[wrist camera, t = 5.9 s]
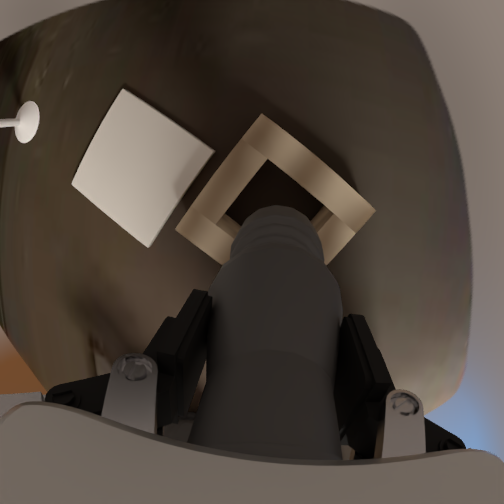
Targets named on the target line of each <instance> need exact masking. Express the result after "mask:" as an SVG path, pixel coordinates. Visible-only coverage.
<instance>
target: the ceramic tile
mask: <svg viewBox="0 0 504 504" xmlns="http://www.w3.org/2000/svg"><path fill="white" fill-rule="evenodd" d="M214 153H215V150H213V149H212V148H211V147H209V146H208V145H206V144H205V143H204V142H202V141H201V140H200V139H198V138H197V137H195V136H194V135H193V134H191V133H190V132H188V131H187V130H185V129H184V128H183V127H181V126H180V125H178V124H177V123H175V122H174V121H173V120H171V119H170V118H168V117H167V116H165V115H164V114H162V113H161V112H159V111H158V110H156V109H155V108H153V107H152V106H150V105H149V104H147V103H146V102H144V101H143V100H141V99H140V98H138V97H137V96H135V95H134V94H132V93H131V92H129V91H128V90H125V89H122V90H121V92H120V93H119V95H118V96H117V98H116V100H115V101H114V103H113V105H112V106H111V108H110V109H109V111H108V113H107V115H106V116H105V118H104V120H103V121H102V123H101V125H100V127H99V129H98V130H97V132H96V134H95V136H94V138H93V140H92V142H91V144H90V146H89V148H88V149H87V151H86V153H85V156H84V158H83V160H82V162H81V164H80V166H79V168H78V170H77V172H76V175H75V177H74V179H73V181H72V185H73V186H74V187H75V188H76V189H77V190H79V191H80V192H81V193H82V194H83V195H84V196H86V197H87V198H88V199H89V200H90V201H91V202H92V203H94V204H95V205H96V206H97V207H98V208H100V209H101V210H102V211H103V212H104V213H105V214H107V215H108V216H109V217H110V218H111V219H113V220H114V221H115V222H116V223H118V224H119V225H120V226H121V227H122V228H124V229H125V230H126V231H127V232H129V233H130V234H131V235H132V236H134V237H135V238H136V239H137V240H139V241H140V242H141V243H142V244H144V245H145V246H146V247H147V248H149V247H150V246H151V245H152V243H153V242H154V240H155V239H156V237H157V235H158V234H159V232H160V231H161V229H162V228H163V226H164V224H165V223H166V221H167V220H168V218H169V217H170V215H171V214H172V212H173V211H174V209H175V208H176V206H177V205H178V203H179V202H180V200H181V199H182V197H183V196H184V194H185V193H186V192H187V190H188V189H189V187H190V186H191V184H192V183H193V182H194V180H195V179H196V177H197V176H198V175H199V173H200V172H201V170H202V169H203V168H204V166H205V165H206V164H207V162H208V161H209V159H210V158H211V157H212V155H213V154H214Z"/></svg>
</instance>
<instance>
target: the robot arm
mask: <svg viewBox="0 0 504 504" xmlns="http://www.w3.org/2000/svg"><path fill="white" fill-rule="evenodd" d="M211 309H212V296H208V292H207V291H201V290H196V289H193V291H192V292H191V294H190V296H189V297H188V299H187V301H186V302H185V304H184V306H183V307H182V309H181V311H180V312H179V314H178V315H177V317H176V318H174V317H169V316H168V317H167V318H166V319H165V320H164V322H163V323H162V325H161V326H160V328H159V329H158V331H157V333H156V334H155V336H154V337H153V339H152V340H151V342H150V343H149V345H148V347H147V348H146V350H145V351H144V353H143V354H140V353H129V354H125V355H123V356H121V357H119V358H118V359H117V360H116V361H115V362H114V364H113V366H112V370H111V373H108V374H104V375H100V376H96V377H92V378H87V379H83V380H78V381H74V382H69V383H64V384H60V385H57V386H54V387H53V388H51V389H50V390H49V391H48V392H47V394H46V395H42V393H41V392H33V393H20V394H3V395H0V504H504V463H503V462H502V460H501V459H500V458H499V457H498V456H497V455H495V454H493V453H490V452H487V451H483V450H476V449H471V448H469V449H466V447H465V445H464V443H463V441H462V440H461V439H460V438H458V437H457V436H455V435H453V434H452V433H450V432H448V431H447V430H445V429H443V428H442V427H440V426H438V425H436V424H435V423H433V422H431V421H430V420H428V419H426V418H425V417H424V411H423V405H422V402H421V400H420V399H419V398H418V397H417V396H416V395H415V394H413V393H412V392H410V391H407V390H402V389H398V390H396V389H395V387H394V384H393V382H392V379H391V377H390V374H389V372H388V369H387V367H386V364H385V362H384V359H383V357H382V354H381V352H380V350H379V349H378V348H377V346H376V343H375V341H374V338H373V336H372V334H371V331H370V329H369V327H368V325H367V322H366V320H365V318H364V316H363V315H355V314H349V315H348V317H344V318H343V320H342V323H341V326H340V345H339V354H338V362H337V370H336V378H335V385H334V392H333V395H334V401H335V408H336V414H337V421H338V428H339V435H340V442H341V450H342V458H343V460H305V459H288V458H276V457H266V456H258V455H250V454H243V453H236V452H230V451H224V450H219V449H214V448H209V447H204V446H199V445H195V444H190V443H186V442H182V441H178V440H174V439H171V438H167V437H164V426H166V425H169V424H172V423H175V424H178V422H179V420H180V417H184V418H185V417H186V415H187V412H188V410H189V407H190V404H191V401H192V398H193V395H194V392H195V390H196V387H197V384H198V381H199V378H200V375H201V372H202V370H203V367H204V364H205V361H206V350H207V328H208V320H209V317H210V313H211Z"/></svg>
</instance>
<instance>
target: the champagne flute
mask: <svg viewBox="0 0 504 504" xmlns="http://www.w3.org/2000/svg"><path fill="white" fill-rule="evenodd" d="M38 124H39V109H38V106H37V105H36V103H35V102H33V101H28V102H26V103H25V104H23V105H22V107H21V108H20V110H19V111H18V114H17V116H16V119H0V127H11V126H15V134H16V137H17V139H18V140H19V141H20V142H22V143H27V142H29V141H30V140H31V139H32V138H33V136H34V135H35V133H36V131H37V128H38Z"/></svg>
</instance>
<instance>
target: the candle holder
mask: <svg viewBox="0 0 504 504" xmlns="http://www.w3.org/2000/svg"><path fill="white" fill-rule="evenodd" d="M324 261H325V259H324V254H323V249H322V243H321V241H320V238H319V236H318V234H317V232H316V229H315V228H314V227H313V225H312V224H311V222H310V221H309V219H308V218H307V217H306V216H305V215H303V214H302V213H300V212H299V211H297V210H295V209H294V208H292V207H286V206H279V205H273V206H269V207H265V208H260V209H258V210H257V211H256V212H254V213H253V214H252V215H250V216H249V217H247V218H246V220H245V221H244V223H243V225H242V226H241V228H240V230H239V231H238V233H237V235H236V237H235V239H234V241H233V243H232V245H231V251H230V260H228V261H227V262H226V263H224V264H223V266H222V267H221V269H220V271H219V272H218V274H217V276H216V278H215V279H214V281H213V283H212V284H211V286H210V288H209V290H208V296H212V309H211V313H210V317H209V320H208V328H207V350H206V385H205V388H204V391H203V394H202V397H201V400H200V403H199V407H198V410H197V413H196V416H195V419H194V422H193V425H192V428H191V432H190V435H189V438H188V441H187V443H190V444H195V445H199V446H204V447H209V448H214V449H219V450H224V451H230V452H236V453H243V454H250V455H258V456H266V457H276V458H288V459H305V460H343V458H342V450H341V442H340V435H339V428H338V421H337V414H336V408H335V401H334V395H333V392H334V385H335V378H336V370H337V362H338V354H339V345H340V326H341V323H342V316H343V308H342V301H341V294H340V287H339V285H338V282H337V281H336V279H335V278H334V276H333V275H332V273H331V272H330V270H329V269H328V267H327V266H326V265H325V263H324Z"/></svg>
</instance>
